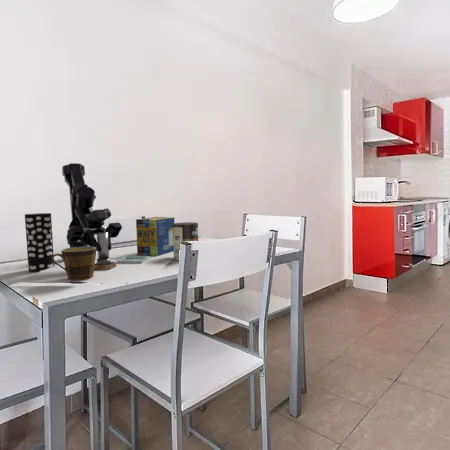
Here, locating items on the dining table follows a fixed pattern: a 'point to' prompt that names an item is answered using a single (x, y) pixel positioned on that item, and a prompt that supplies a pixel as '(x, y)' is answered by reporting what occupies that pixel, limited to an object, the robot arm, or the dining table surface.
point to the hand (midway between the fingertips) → (105, 250)
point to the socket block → (105, 266)
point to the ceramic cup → (78, 263)
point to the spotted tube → (39, 241)
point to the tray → (123, 260)
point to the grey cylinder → (103, 249)
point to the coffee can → (183, 235)
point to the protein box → (154, 236)
